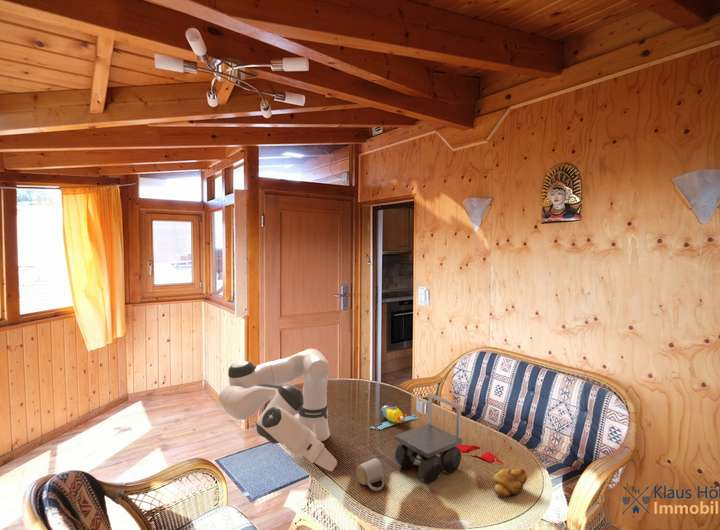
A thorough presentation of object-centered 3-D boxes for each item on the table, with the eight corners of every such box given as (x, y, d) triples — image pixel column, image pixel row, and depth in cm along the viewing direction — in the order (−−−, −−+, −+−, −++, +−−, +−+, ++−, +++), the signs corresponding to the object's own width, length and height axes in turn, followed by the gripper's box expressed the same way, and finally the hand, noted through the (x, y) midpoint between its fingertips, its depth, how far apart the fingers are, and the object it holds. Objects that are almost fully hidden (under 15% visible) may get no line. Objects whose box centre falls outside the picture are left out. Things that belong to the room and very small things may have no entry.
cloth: (512, 462, 169) (512, 456, 168) (491, 472, 160) (491, 467, 160) (462, 438, 190) (462, 433, 189) (441, 446, 181) (441, 441, 181)
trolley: (425, 489, 148) (426, 418, 147) (392, 467, 163) (392, 403, 162) (463, 470, 161) (464, 405, 160) (429, 452, 175) (430, 392, 174)
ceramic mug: (354, 480, 154) (355, 460, 154) (372, 473, 159) (373, 454, 158) (371, 495, 145) (371, 474, 145) (389, 487, 150) (389, 467, 149)
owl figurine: (379, 417, 192) (361, 407, 204) (379, 435, 192) (361, 424, 204) (424, 404, 207) (404, 396, 220) (424, 421, 208) (404, 412, 220)
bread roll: (505, 503, 140) (506, 480, 140) (483, 489, 148) (483, 467, 148) (529, 492, 147) (530, 470, 147) (506, 479, 155) (507, 458, 155)
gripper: (282, 438, 142) (307, 457, 148) (312, 463, 126) (338, 483, 132) (293, 422, 145) (318, 442, 151) (324, 444, 128) (350, 465, 135)
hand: (328, 461), depth 141 cm, fingers closed
